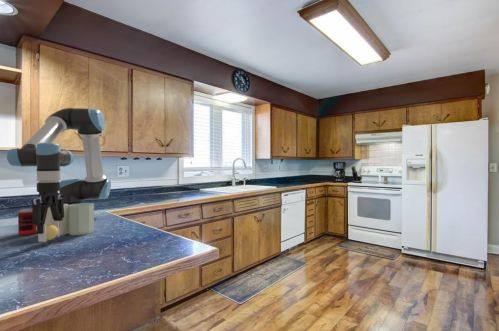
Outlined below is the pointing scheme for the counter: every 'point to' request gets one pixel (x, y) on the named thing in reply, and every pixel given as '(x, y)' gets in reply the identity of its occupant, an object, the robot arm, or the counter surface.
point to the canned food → (26, 223)
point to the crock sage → (80, 218)
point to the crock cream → (63, 223)
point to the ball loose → (51, 232)
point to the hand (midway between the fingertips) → (49, 238)
